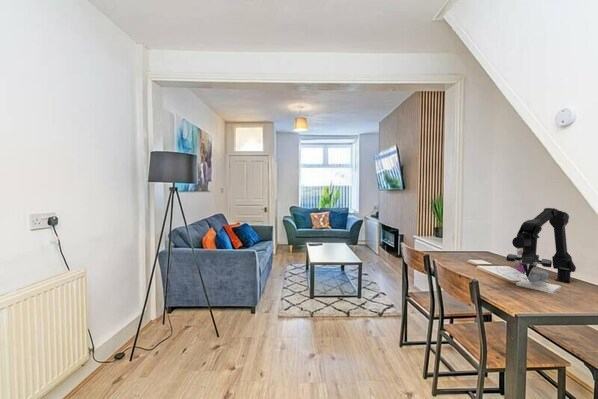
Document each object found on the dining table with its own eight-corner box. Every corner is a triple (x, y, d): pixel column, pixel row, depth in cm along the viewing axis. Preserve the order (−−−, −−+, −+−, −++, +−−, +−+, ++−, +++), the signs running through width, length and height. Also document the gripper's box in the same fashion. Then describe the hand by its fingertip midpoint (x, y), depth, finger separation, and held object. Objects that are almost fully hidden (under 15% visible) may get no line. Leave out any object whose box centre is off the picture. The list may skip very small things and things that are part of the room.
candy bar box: (515, 269, 208) (516, 243, 208) (524, 269, 207) (525, 243, 207) (523, 274, 198) (525, 246, 197) (533, 274, 196) (534, 247, 196)
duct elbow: (531, 275, 179) (532, 267, 179) (550, 278, 173) (550, 271, 173) (522, 280, 170) (523, 272, 170) (541, 284, 164) (541, 276, 163)
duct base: (525, 280, 184) (525, 273, 184) (560, 288, 172) (561, 280, 172) (516, 285, 176) (516, 277, 176) (552, 293, 164) (553, 285, 163)
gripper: (506, 246, 168) (503, 276, 170) (552, 252, 157) (549, 285, 158) (508, 243, 177) (506, 271, 178) (552, 248, 165) (550, 279, 167)
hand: (527, 277), depth 170 cm, fingers closed
